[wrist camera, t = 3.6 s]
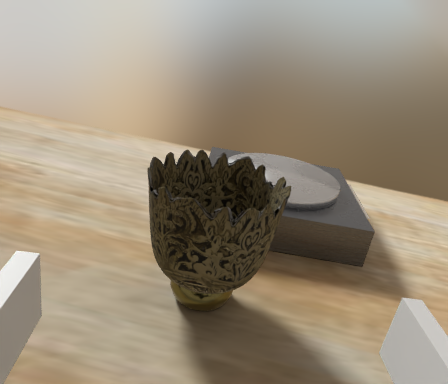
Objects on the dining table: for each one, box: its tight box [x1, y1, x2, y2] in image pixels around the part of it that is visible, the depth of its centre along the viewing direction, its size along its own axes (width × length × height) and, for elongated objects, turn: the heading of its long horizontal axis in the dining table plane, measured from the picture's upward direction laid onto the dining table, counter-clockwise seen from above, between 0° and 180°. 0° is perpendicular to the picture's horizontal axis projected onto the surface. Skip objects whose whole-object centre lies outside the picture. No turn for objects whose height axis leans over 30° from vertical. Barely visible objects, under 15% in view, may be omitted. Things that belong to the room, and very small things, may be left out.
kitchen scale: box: [209, 147, 374, 266], centre depth 36 cm, size 14×13×4 cm
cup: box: [148, 150, 291, 311], centre depth 23 cm, size 8×7×8 cm
